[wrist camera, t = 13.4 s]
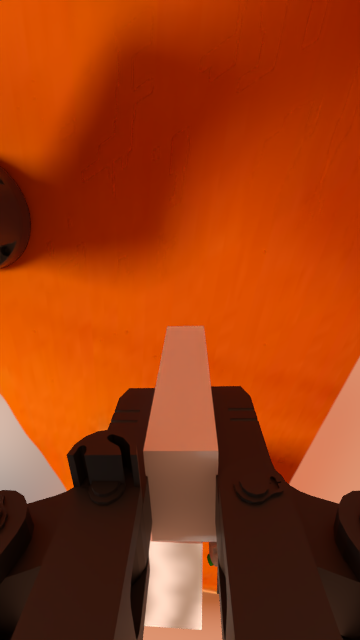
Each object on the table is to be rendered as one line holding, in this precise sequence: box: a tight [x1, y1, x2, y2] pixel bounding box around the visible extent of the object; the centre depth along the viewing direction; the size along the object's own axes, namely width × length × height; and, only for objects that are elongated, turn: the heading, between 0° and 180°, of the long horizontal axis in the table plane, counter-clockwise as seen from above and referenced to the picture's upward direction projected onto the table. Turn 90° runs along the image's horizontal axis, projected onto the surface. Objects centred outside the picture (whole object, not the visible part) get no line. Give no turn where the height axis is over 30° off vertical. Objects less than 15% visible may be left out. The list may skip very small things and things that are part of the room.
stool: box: [144, 532, 202, 630], centre depth 46 cm, size 18×18×18 cm
